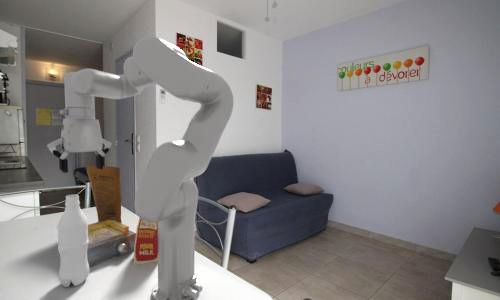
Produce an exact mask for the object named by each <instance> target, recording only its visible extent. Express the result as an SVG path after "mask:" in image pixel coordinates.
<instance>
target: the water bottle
mask: <svg viewBox="0 0 500 300" xmlns="http://www.w3.org/2000/svg"><path fill="white" fill-rule="evenodd" d="M80 204H81V202H80V196H79V194H77V193H76V194H67V195H66V196H65V201H64V206H65V209H64V211H63V213H62V215H61V217H60V219H59V221H58V223H57V226H56V227H57V228H56V229H57V237H58V238H57V239H58V243H57V250H58V253H59V257H60V258H59V259H60V265H59V271H58V280H59V281H60V284H61V286H63V287H65V288H69V287H70V286H71V284H73V287H77V286H80V285H81V284H83V283H84V281H86V280H87V279H88V278H89V274H90V267H89V264H88V260H87V248H88V244H89V240H88V225H89V220H88V218H87V216H86V214H85V213H84V212H83V211H82V209H81V206H80Z"/></svg>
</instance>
